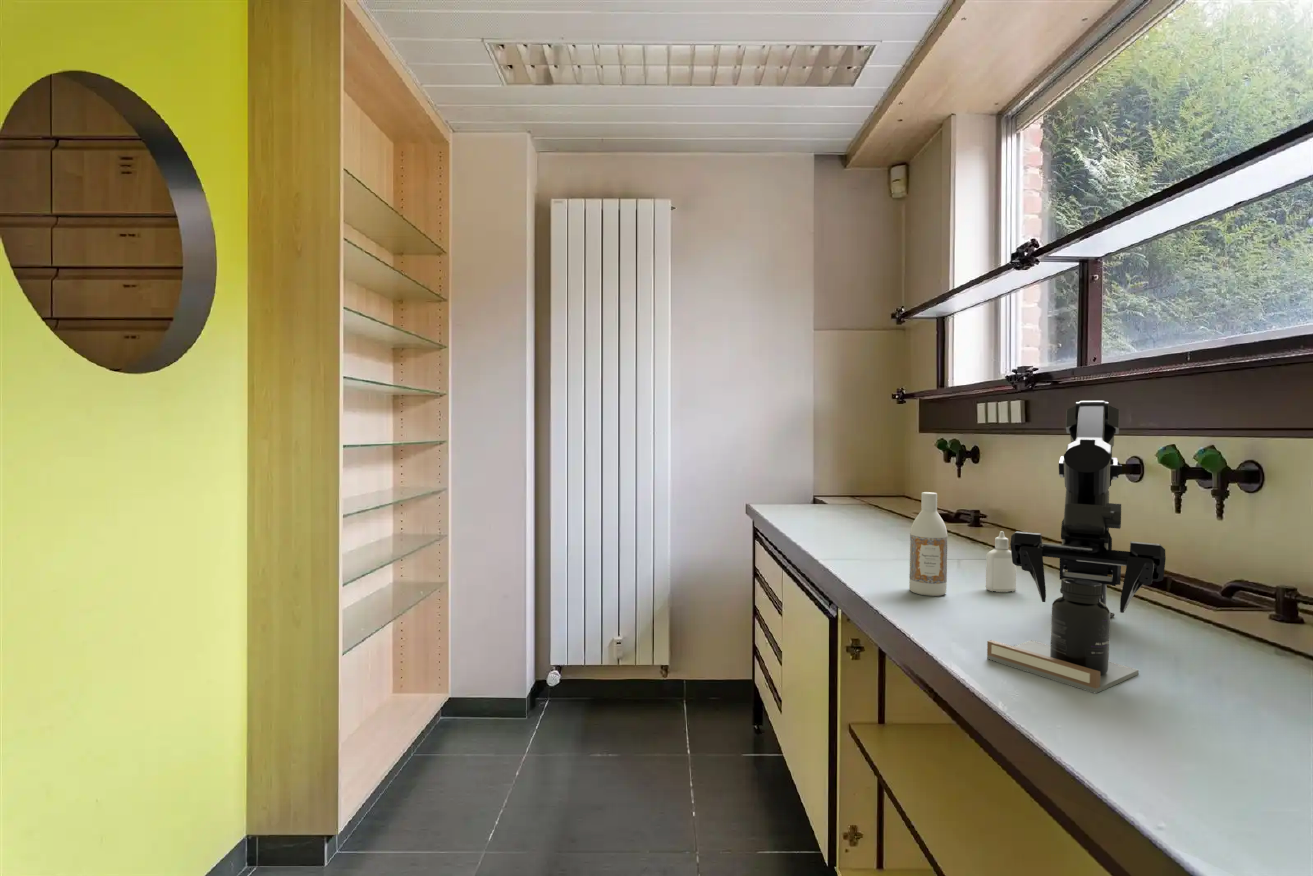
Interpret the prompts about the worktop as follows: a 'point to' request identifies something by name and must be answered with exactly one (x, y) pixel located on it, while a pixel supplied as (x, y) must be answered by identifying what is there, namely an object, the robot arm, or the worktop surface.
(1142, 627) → the worktop surface
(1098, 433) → the robot arm
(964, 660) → the worktop surface
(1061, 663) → the shelf board
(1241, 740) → the worktop surface
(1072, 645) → the supplement bottle
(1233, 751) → the worktop surface
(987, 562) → the eye dropper bottle
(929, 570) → the bath foam
